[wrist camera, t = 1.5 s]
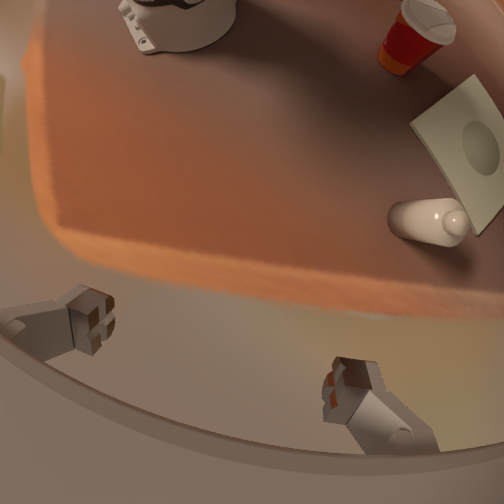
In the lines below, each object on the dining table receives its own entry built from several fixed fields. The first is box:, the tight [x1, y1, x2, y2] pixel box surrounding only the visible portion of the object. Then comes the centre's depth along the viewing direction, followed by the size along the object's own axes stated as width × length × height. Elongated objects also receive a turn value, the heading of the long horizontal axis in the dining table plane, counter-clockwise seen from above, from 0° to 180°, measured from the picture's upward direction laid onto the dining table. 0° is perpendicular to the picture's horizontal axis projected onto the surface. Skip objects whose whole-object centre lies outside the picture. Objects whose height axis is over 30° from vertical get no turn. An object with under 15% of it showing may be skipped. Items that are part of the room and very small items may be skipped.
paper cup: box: [378, 0, 456, 76], centre depth 27 cm, size 8×8×14 cm
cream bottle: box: [387, 198, 470, 247], centre depth 30 cm, size 5×5×14 cm
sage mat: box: [409, 74, 504, 235], centre depth 34 cm, size 20×20×1 cm
